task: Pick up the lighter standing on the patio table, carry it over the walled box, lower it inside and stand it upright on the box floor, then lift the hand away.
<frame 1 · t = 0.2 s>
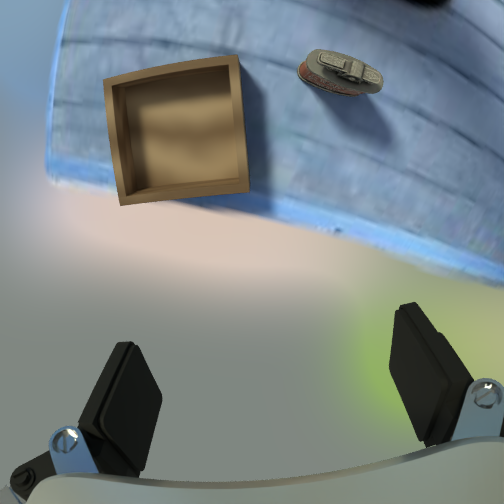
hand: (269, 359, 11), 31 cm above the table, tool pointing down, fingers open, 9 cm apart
walled box: (182, 129, 36), on the table
lighter: (329, 79, 34), on the table
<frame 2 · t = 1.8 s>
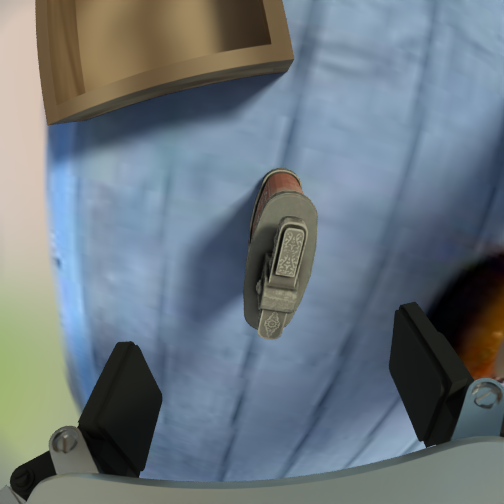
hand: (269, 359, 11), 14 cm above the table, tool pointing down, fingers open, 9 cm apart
walled box: (162, 0, 17), on the table
lighter: (273, 221, 23), on the table
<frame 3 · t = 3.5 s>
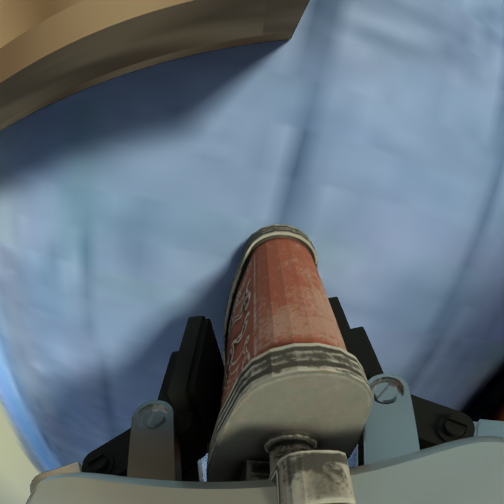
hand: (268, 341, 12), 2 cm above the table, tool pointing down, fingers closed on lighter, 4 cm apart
lighter: (265, 312, 14), on the table, touching gripper
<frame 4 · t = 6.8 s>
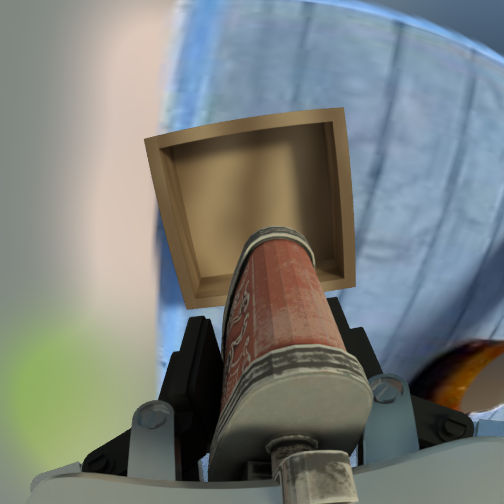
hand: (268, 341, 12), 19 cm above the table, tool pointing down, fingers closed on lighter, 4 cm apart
walled box: (257, 200, 29), on the table
lighter: (263, 313, 14), point 17 cm above the table, touching gripper
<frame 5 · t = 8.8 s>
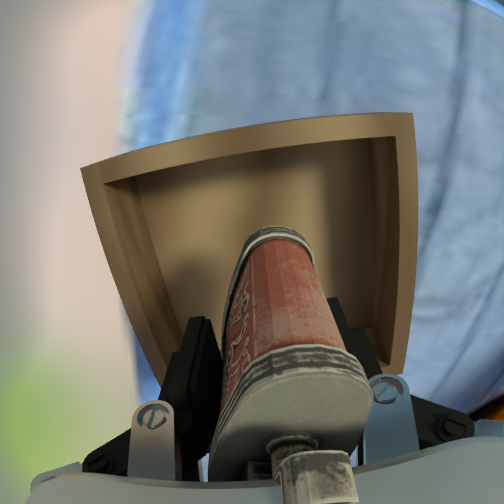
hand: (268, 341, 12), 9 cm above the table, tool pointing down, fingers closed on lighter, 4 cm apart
walled box: (266, 250, 20), on the table
lighter: (263, 313, 14), point 7 cm above the table, touching gripper
when the fingers open (4 cm above the table, at t = 10.1 s): lighter drops 1 cm, resting on walled box.
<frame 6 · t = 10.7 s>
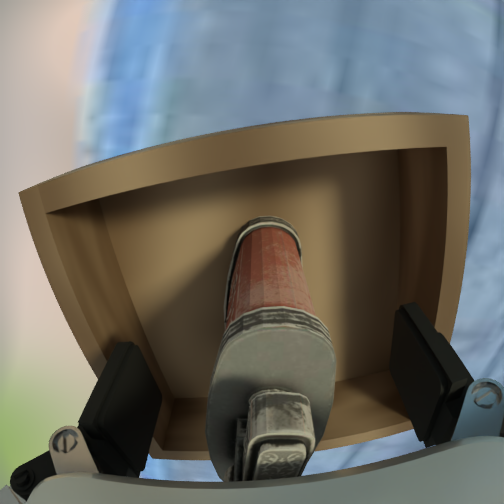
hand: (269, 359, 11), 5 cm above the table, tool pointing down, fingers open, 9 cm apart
walled box: (265, 285, 16), on the table
lighter: (261, 297, 15), point 1 cm above the table, touching walled box
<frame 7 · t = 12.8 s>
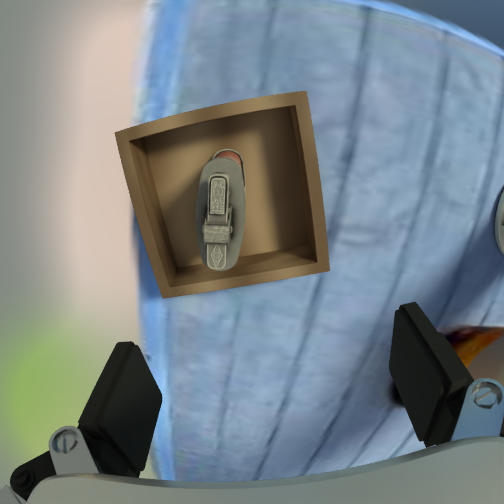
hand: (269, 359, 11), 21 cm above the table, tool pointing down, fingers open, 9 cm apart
walled box: (229, 188, 29), on the table
lighter: (226, 192, 29), point 1 cm above the table, touching walled box
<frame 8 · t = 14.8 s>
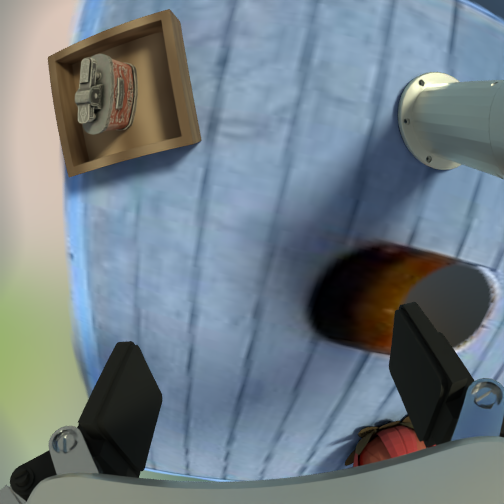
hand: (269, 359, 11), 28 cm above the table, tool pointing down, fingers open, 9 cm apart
decorative flower: (387, 434, 57), on the table
walled box: (128, 95, 32), on the table
lighter: (125, 96, 32), point 1 cm above the table, touching walled box
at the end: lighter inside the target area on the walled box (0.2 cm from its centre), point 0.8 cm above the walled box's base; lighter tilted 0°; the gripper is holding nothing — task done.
